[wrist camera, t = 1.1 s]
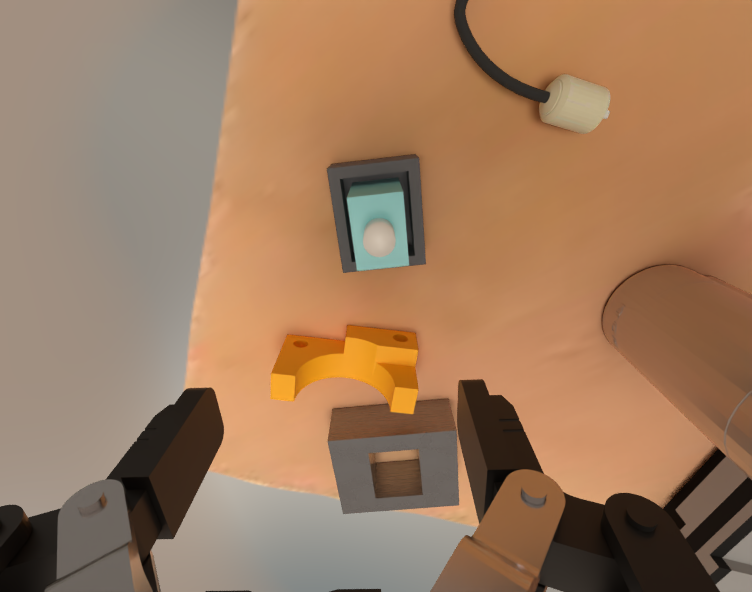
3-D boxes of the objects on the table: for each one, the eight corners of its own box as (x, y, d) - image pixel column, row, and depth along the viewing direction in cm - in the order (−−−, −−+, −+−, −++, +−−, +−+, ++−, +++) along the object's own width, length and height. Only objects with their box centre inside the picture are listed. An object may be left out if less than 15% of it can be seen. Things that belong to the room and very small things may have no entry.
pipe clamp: (415, 331, 37) (422, 371, 32) (407, 369, 39) (413, 414, 33) (288, 317, 37) (271, 354, 31) (286, 356, 39) (270, 398, 33)
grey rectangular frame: (415, 154, 31) (419, 157, 28) (421, 252, 34) (425, 264, 31) (331, 164, 31) (326, 168, 28) (345, 259, 34) (343, 272, 31)
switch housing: (448, 398, 40) (456, 430, 36) (451, 469, 44) (459, 505, 40) (332, 409, 41) (327, 441, 37) (346, 477, 45) (343, 513, 41)
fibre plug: (397, 177, 31) (405, 197, 23) (403, 239, 33) (411, 276, 25) (352, 182, 31) (344, 204, 23) (360, 243, 33) (355, 282, 25)
